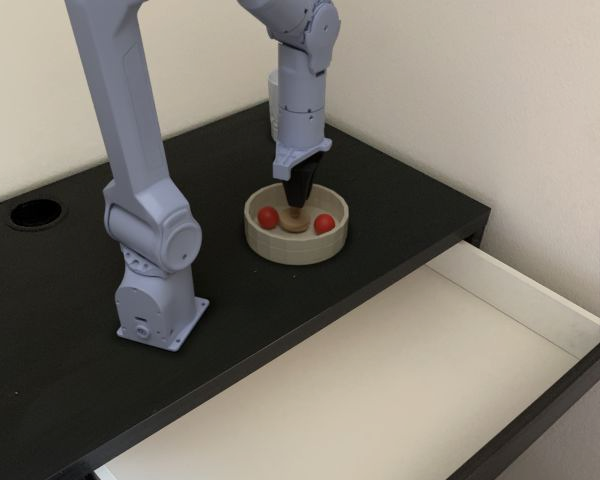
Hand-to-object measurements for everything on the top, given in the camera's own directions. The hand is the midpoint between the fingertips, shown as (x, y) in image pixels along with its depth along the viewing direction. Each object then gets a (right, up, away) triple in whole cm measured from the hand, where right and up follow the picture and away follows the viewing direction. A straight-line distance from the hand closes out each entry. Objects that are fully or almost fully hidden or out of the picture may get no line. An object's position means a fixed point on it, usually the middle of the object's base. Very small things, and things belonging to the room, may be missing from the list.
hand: (298, 201), depth 90 cm
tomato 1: (-4, -2, +2) cm, 5 cm away
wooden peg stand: (-1, -2, +3) cm, 3 cm away
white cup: (-1, +17, +21) cm, 28 cm away
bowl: (0, -4, +3) cm, 5 cm away
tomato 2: (+4, -3, +1) cm, 5 cm away
